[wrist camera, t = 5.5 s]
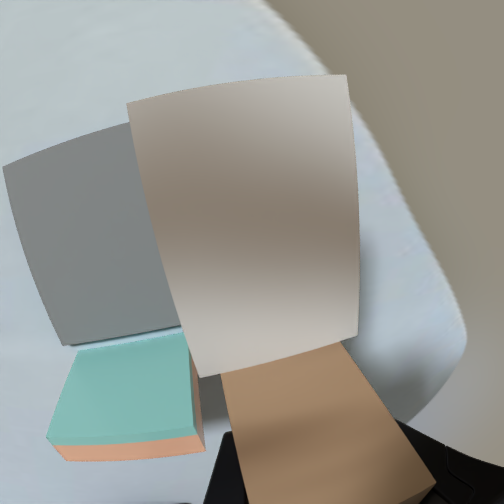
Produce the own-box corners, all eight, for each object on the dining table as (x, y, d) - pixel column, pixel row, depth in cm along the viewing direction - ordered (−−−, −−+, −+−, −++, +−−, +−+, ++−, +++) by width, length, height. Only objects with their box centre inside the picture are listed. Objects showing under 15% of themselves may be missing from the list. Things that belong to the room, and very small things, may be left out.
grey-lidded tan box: (340, 426, 10) (397, 533, 6) (234, 456, 10) (266, 578, 5) (332, 78, 6) (563, 51, 1) (132, 106, 5) (-40, 41, 1)
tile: (195, 356, 15) (205, 451, 10) (90, 374, 14) (66, 460, 9) (187, 331, 15) (193, 425, 9) (78, 350, 14) (45, 437, 8)
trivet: (194, 317, 14) (194, 321, 14) (65, 341, 14) (62, 345, 13) (148, 118, 11) (147, 117, 11) (6, 166, 10) (2, 167, 10)
